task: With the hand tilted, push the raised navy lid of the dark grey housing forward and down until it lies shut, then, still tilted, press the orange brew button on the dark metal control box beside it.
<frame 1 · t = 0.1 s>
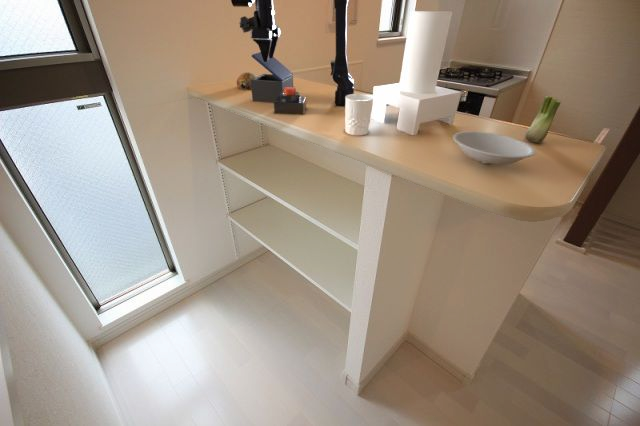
hand: (268, 59, 107), 15 cm above the worktop, tool pointing down, fingers open, 9 cm apart
white cup: (356, 132, 89), on the worktop
dark grey housing: (273, 98, 120), on the worktop
brew panel: (290, 110, 106), on the worktop
brew button: (289, 91, 102), point 7 cm above the worktop, slide at 0.1 cm
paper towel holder: (410, 122, 98), on the worktop
bread roll: (248, 87, 136), on the worktop
dish: (485, 163, 73), on the worktop
lid: (273, 65, 113), point 12 cm above the worktop, hinge at 35.5°
fennel bulb: (532, 141, 85), on the worktop
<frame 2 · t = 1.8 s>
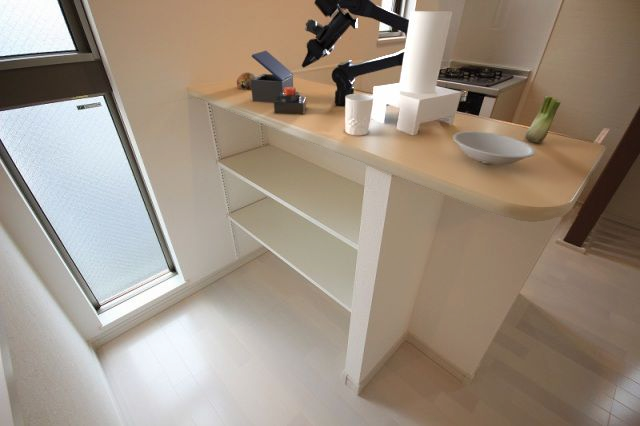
hand: (306, 64, 110), 13 cm above the worktop, tool tilted 45°, fingers open, 9 cm apart
nothing on the worktop moved.
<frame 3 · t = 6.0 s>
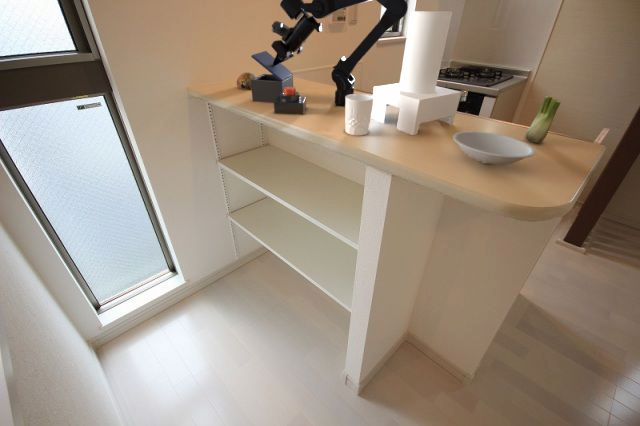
hand: (274, 64, 113), 12 cm above the worktop, tool tilted 45°, fingers closed, pressing on lid
lid: (273, 65, 113), point 12 cm above the worktop, hinge at 34.7°, touching gripper
everything else where it was.
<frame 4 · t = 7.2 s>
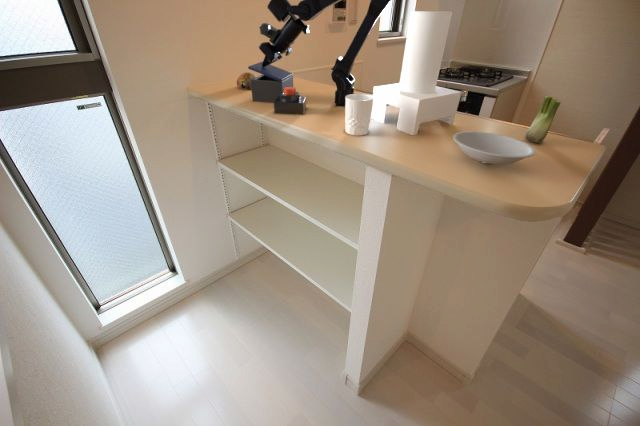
hand: (262, 66, 114), 12 cm above the worktop, tool tilted 45°, fingers closed, pressing on lid
lid: (271, 71, 114), point 10 cm above the worktop, hinge at 16.1°, touching gripper
everything else where it was.
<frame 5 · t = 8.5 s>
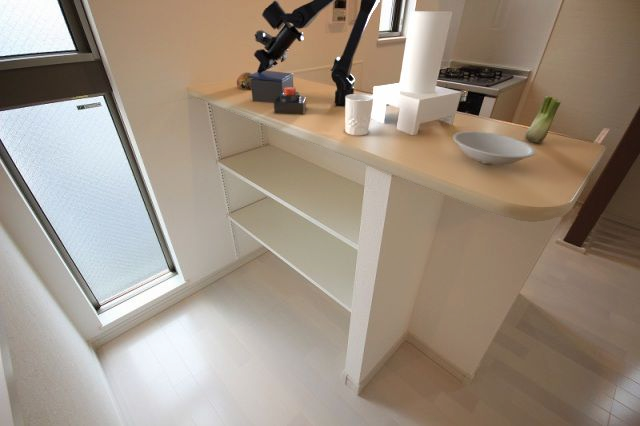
hand: (258, 72, 116), 9 cm above the worktop, tool tilted 45°, fingers closed, pressing on lid
lid: (271, 75, 115), point 9 cm above the worktop, hinge at 2.3°, touching gripper
everything else where it was.
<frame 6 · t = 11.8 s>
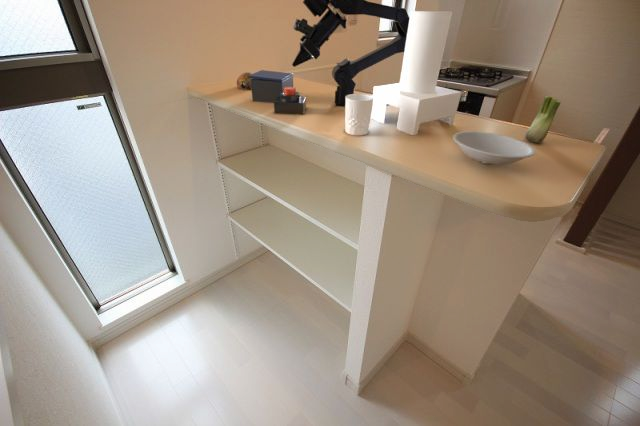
hand: (293, 65, 105), 13 cm above the worktop, tool tilted 45°, fingers closed
lid: (271, 75, 115), point 9 cm above the worktop, hinge at 2.3°
everything else where it was.
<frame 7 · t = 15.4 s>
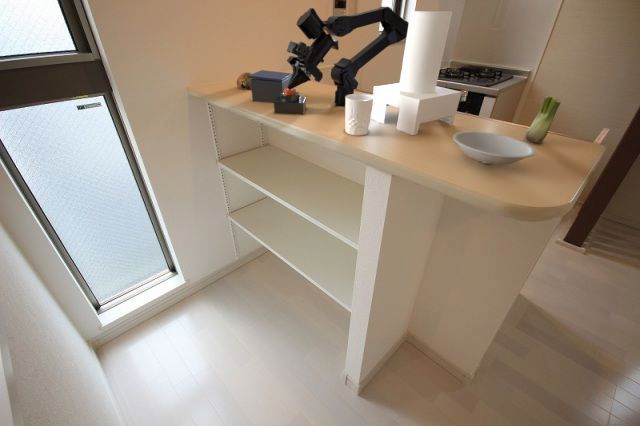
hand: (288, 88, 102), 8 cm above the worktop, tool tilted 45°, fingers closed, pressing on brew button
brew button: (289, 92, 103), point 6 cm above the worktop, slide at -0.3 cm, touching gripper
everything else where it was.
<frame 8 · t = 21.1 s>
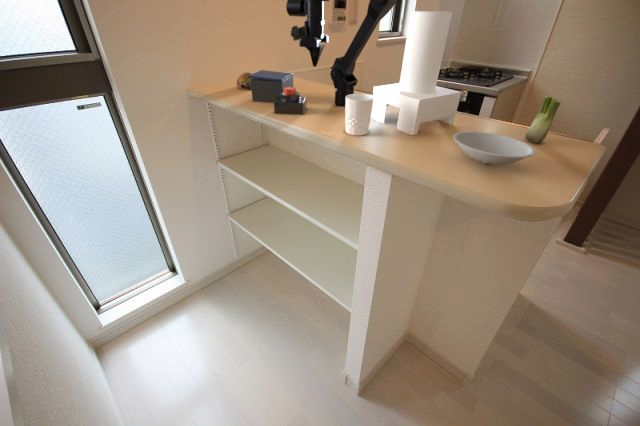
hand: (314, 66, 113), 12 cm above the worktop, tool pointing down, fingers closed
brew button: (289, 91, 102), point 7 cm above the worktop, slide at 0.1 cm
everything else where it was.
at the end: lid at +2° (first picture: +35°); brew button pushed in 1.0 cm at the most during the clip, back to where it started at the end; brew button slide at 0.1 cm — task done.
